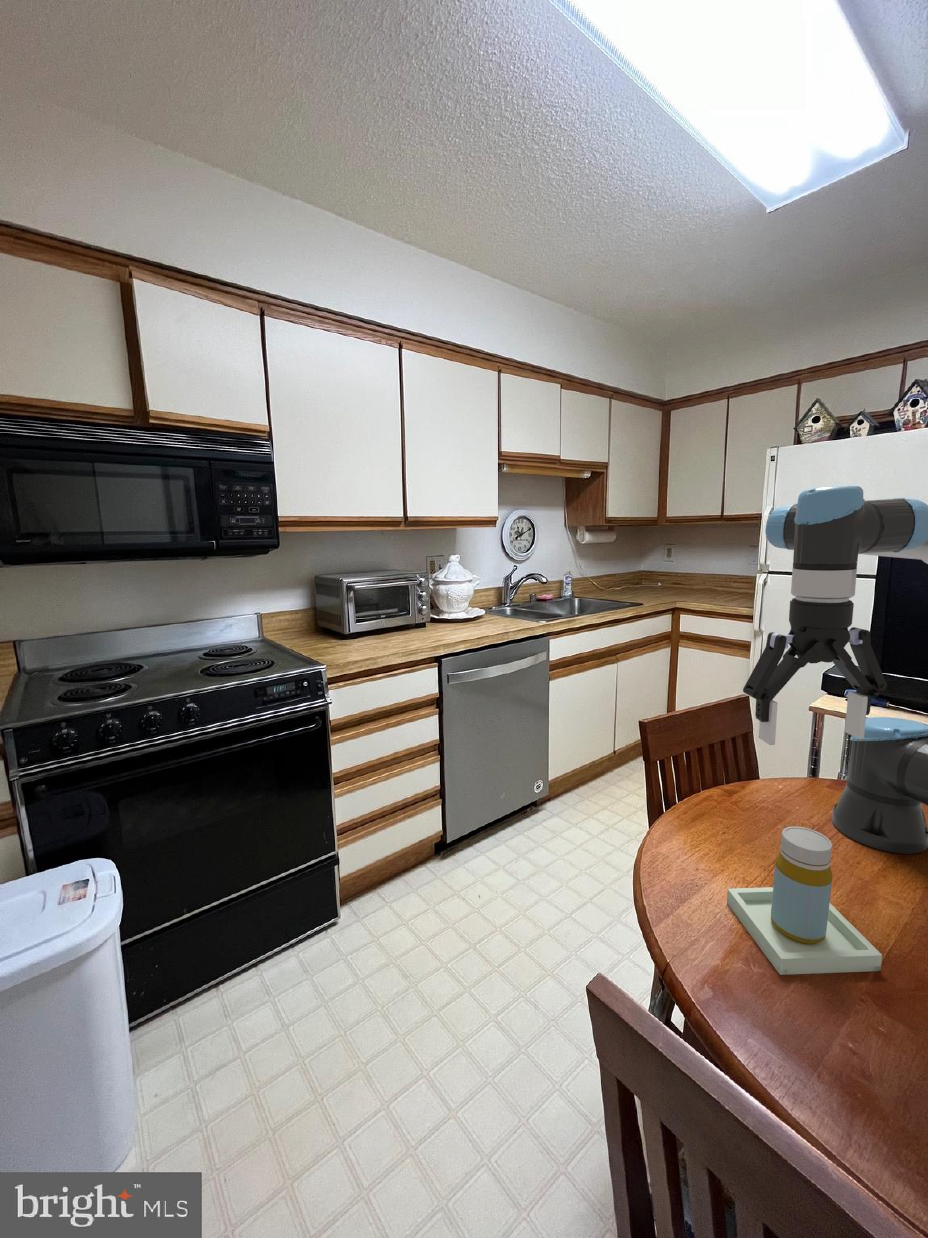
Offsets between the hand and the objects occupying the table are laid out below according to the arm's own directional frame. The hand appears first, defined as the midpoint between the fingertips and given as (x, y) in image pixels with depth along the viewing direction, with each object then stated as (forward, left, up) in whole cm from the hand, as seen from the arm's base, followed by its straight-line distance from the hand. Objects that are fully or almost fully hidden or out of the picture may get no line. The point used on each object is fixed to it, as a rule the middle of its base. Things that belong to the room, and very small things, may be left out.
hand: (810, 738), depth 77 cm
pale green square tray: (+2, +5, -29) cm, 30 cm away
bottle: (+2, +4, -29) cm, 29 cm away
